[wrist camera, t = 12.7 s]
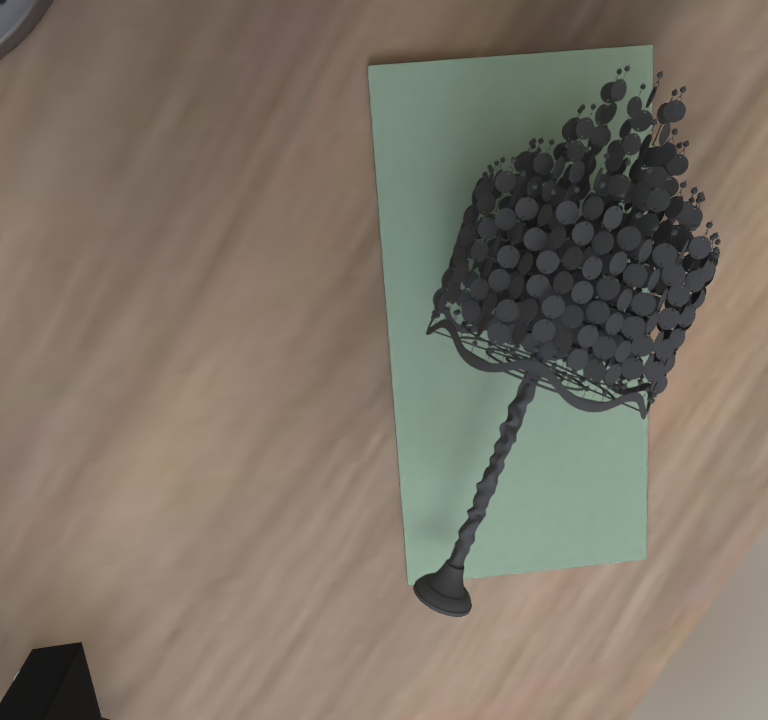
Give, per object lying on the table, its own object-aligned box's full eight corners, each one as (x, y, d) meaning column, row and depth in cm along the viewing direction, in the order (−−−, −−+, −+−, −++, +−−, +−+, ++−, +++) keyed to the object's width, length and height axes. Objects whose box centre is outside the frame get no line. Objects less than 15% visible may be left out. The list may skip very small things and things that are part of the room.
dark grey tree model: (335, 517, 35) (338, 638, 26) (503, 50, 30) (577, -2, 21) (515, 568, 36) (578, 700, 27) (702, 129, 32) (852, 112, 23)
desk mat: (366, 66, 30) (367, 65, 30) (650, 45, 31) (653, 44, 31) (407, 582, 36) (408, 585, 36) (644, 556, 37) (646, 559, 37)
